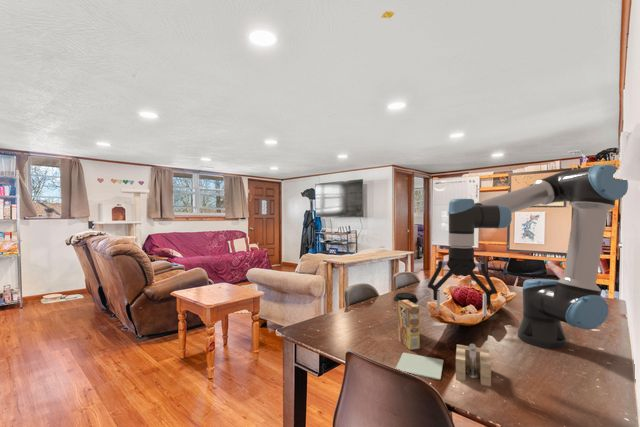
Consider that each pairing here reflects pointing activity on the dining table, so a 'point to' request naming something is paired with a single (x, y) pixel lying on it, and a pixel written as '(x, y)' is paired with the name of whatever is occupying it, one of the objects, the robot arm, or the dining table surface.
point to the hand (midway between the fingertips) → (460, 312)
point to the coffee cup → (404, 296)
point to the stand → (472, 362)
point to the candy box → (408, 324)
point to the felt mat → (421, 365)
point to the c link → (481, 363)
